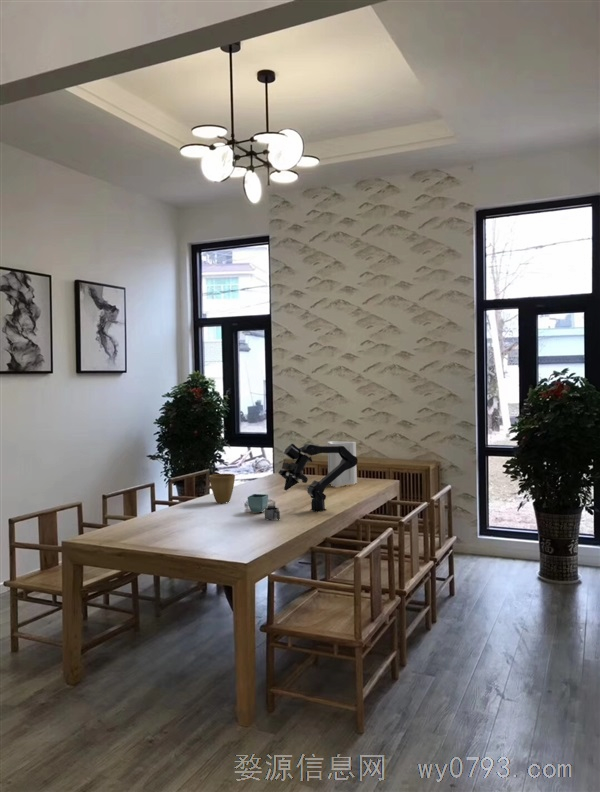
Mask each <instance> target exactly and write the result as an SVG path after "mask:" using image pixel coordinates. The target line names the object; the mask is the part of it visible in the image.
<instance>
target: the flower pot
mask: <svg viewBox="0 0 600 792" xmlns="http://www.w3.org/2000/svg"><path fill="white" fill-rule="evenodd" d="M268 503H269V494H266V493H265V494H263V493H262V494H261V493H260V494H259V493H253V494H251V495H248V496H247V504H248V507H249V510H250V511H251V513H252V512H262V511H263V510H264V509H265V508H267V507H268ZM266 506H267V507H266ZM262 513H263V512H262Z"/></svg>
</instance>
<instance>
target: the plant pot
mask: <svg viewBox="0 0 600 792" xmlns="http://www.w3.org/2000/svg"><path fill="white" fill-rule="evenodd" d="M235 479H236V474H234V473H215V474H210V475H209V483H210V487H211V490H212V494H213V497H214V500H215V502H217V503H216V504H219V503H225V504H227V503H226V502H229V501H231V498H232V494H233V492H234V491H233V490H234V485H235ZM229 503H230V502H229Z"/></svg>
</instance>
